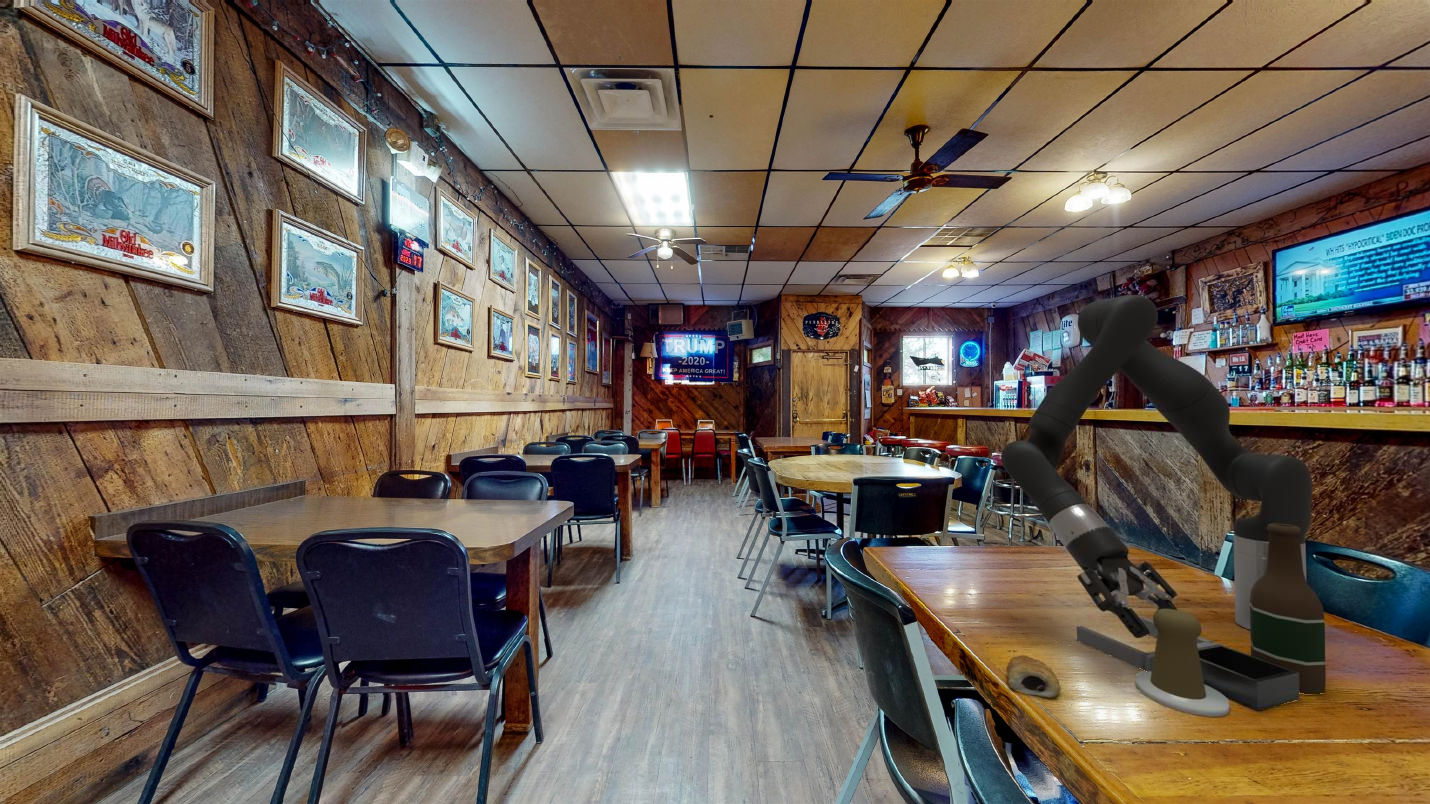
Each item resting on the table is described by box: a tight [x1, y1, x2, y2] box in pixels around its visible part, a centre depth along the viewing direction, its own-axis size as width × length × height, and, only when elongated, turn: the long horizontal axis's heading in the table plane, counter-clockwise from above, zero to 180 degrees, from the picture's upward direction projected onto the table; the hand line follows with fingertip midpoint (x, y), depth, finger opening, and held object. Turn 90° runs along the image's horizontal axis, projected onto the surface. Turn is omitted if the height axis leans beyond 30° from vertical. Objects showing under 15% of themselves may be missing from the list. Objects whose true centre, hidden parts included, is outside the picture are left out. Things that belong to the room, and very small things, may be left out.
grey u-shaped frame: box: [1076, 616, 1219, 672], centre depth 87 cm, size 16×12×2 cm
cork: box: [1150, 609, 1206, 700], centre depth 73 cm, size 6×6×11 cm
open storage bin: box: [1198, 643, 1301, 712], centre depth 75 cm, size 9×9×4 cm
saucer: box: [1135, 671, 1230, 718], centre depth 73 cm, size 10×10×1 cm
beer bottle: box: [1249, 523, 1327, 694], centre depth 77 cm, size 8×8×24 cm
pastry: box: [1005, 654, 1062, 699], centre depth 77 cm, size 9×7×4 cm
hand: (1164, 632), depth 75 cm, fingers open, 8 cm apart
